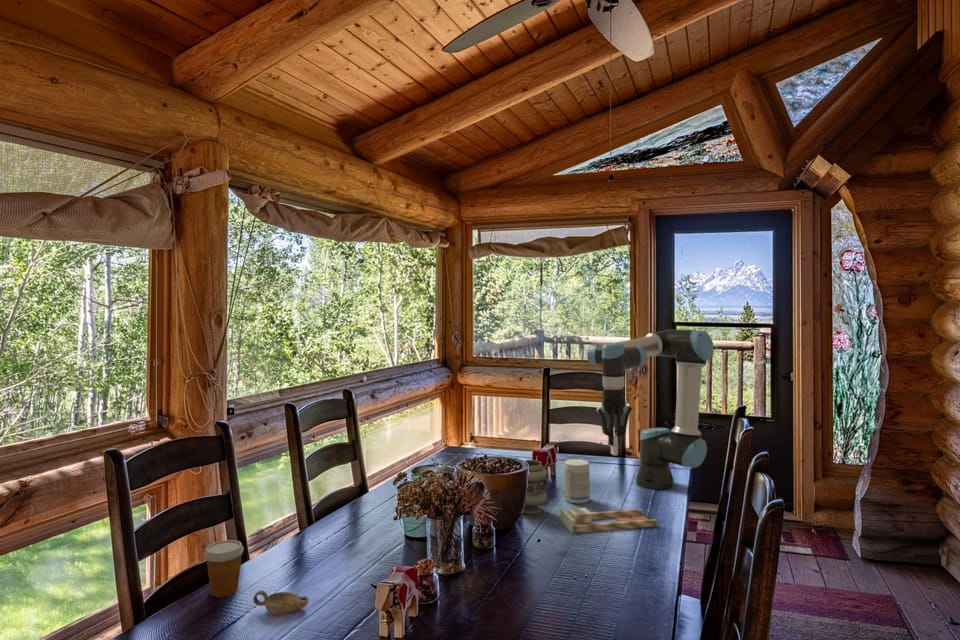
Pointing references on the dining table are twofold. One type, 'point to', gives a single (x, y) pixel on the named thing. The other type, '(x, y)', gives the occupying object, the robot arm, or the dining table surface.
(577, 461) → the supplement tub
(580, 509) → the birch block
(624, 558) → the dining table surface
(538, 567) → the dining table surface
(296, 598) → the oil lamp
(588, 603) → the dining table surface
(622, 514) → the channel rails
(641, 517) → the trap pads
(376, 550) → the dining table surface
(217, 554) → the disposable coffee cup
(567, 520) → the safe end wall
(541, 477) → the apothecary jar
